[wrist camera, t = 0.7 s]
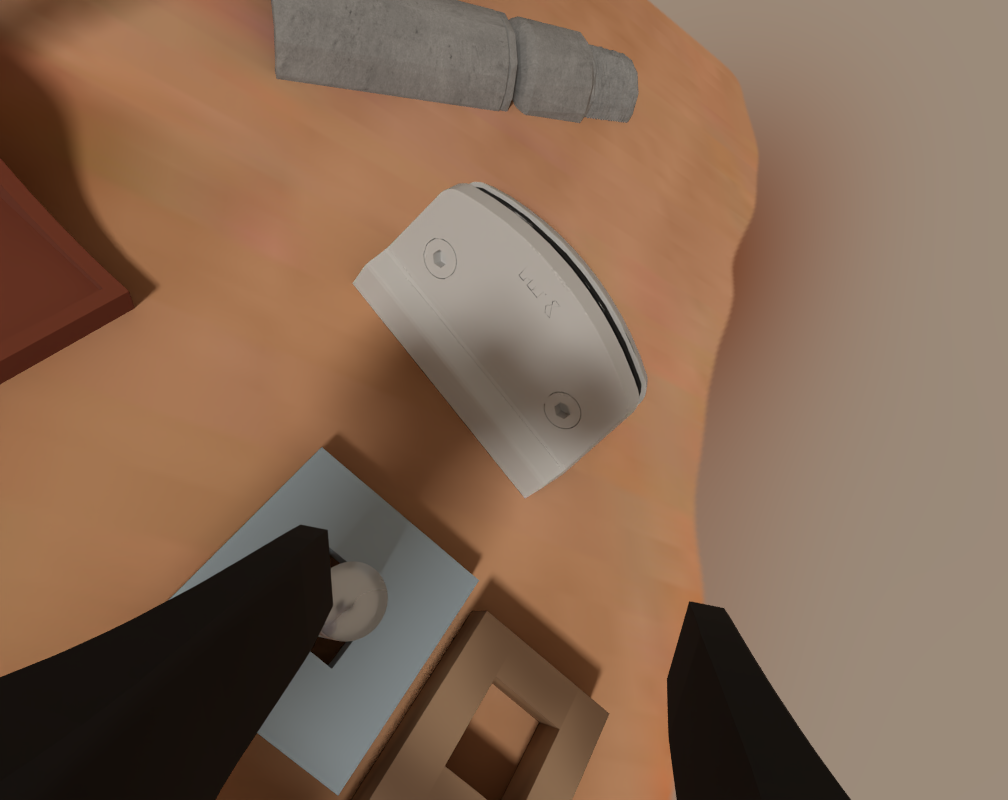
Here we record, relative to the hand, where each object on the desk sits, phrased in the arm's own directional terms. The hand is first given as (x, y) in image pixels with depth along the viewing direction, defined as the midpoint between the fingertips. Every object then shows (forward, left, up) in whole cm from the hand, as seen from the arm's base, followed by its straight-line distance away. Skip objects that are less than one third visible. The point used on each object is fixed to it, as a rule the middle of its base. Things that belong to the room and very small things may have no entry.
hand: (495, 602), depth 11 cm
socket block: (0, +1, -17) cm, 17 cm away
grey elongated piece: (+36, +19, -18) cm, 44 cm away
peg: (0, +1, -17) cm, 17 cm away
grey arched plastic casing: (+16, +3, -17) cm, 24 cm away
